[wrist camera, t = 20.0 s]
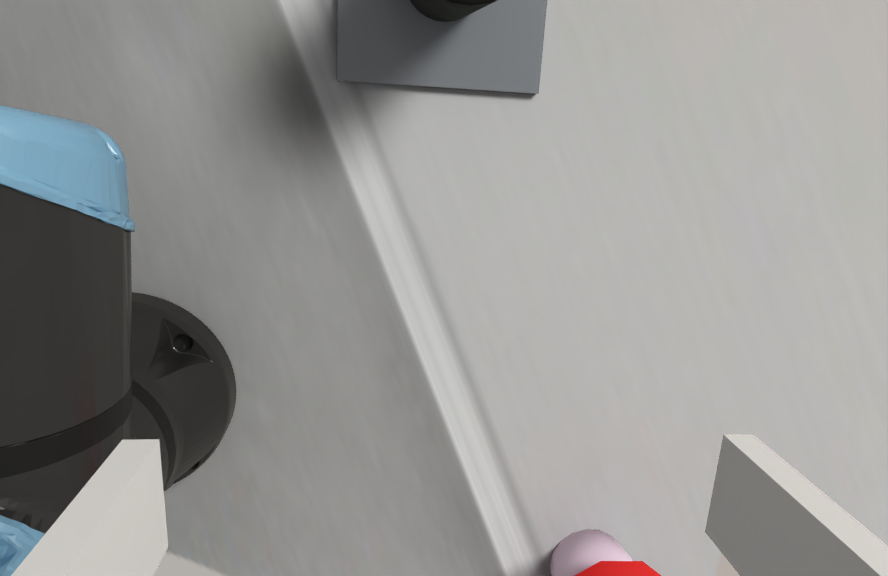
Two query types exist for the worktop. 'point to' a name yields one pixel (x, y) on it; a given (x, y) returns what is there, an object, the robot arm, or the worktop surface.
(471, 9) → the cup
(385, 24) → the coaster
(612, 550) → the mushroom
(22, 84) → the worktop surface
